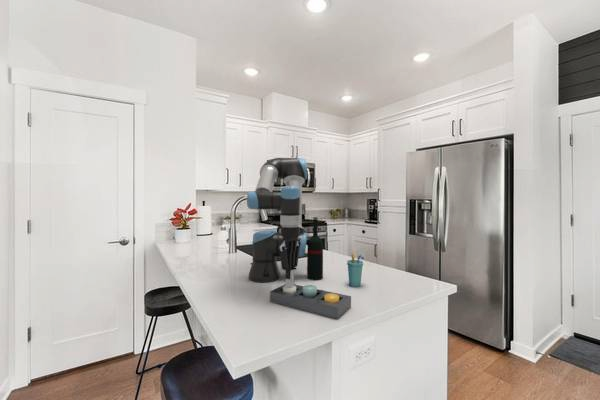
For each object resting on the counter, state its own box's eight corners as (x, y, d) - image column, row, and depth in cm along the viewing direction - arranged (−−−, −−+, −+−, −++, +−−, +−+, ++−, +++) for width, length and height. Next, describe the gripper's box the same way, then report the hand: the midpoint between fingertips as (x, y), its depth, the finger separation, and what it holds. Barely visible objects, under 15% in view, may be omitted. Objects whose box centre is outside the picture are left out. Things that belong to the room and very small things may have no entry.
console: (269, 301, 106) (270, 291, 106) (287, 292, 117) (287, 283, 117) (337, 319, 92) (337, 307, 92) (350, 307, 102) (351, 296, 102)
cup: (370, 290, 120) (371, 255, 120) (354, 291, 119) (354, 256, 118) (356, 280, 134) (357, 249, 134) (341, 281, 132) (341, 250, 132)
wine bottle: (316, 273, 145) (317, 216, 144) (325, 279, 135) (326, 217, 135) (302, 275, 142) (303, 216, 141) (310, 281, 132) (311, 218, 132)
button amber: (321, 306, 99) (321, 296, 99) (328, 301, 103) (328, 292, 103) (335, 309, 96) (335, 299, 96) (341, 304, 100) (341, 295, 100)
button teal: (300, 297, 103) (300, 287, 103) (307, 293, 108) (307, 284, 108) (312, 300, 101) (312, 290, 101) (319, 295, 105) (319, 286, 105)
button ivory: (280, 296, 108) (280, 287, 108) (287, 292, 113) (287, 284, 112) (291, 299, 105) (291, 290, 105) (298, 295, 110) (298, 286, 110)
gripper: (288, 228, 101) (288, 293, 101) (306, 225, 112) (306, 283, 112) (272, 227, 105) (271, 289, 105) (291, 224, 116) (290, 280, 116)
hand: (289, 286), depth 109 cm, fingers closed
